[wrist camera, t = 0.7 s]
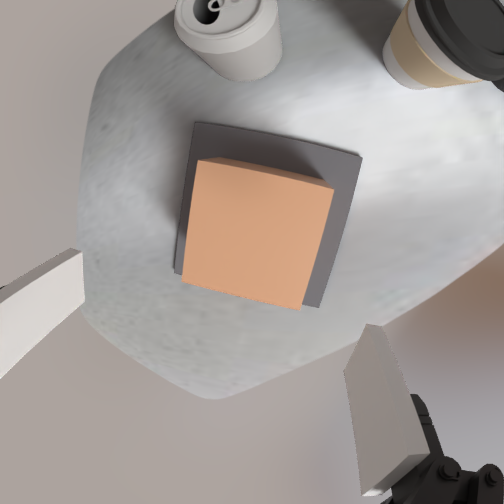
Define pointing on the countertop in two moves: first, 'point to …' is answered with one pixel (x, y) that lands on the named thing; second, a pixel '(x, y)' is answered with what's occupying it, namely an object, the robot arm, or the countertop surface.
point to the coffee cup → (446, 43)
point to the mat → (285, 158)
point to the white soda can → (232, 35)
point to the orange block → (254, 230)
